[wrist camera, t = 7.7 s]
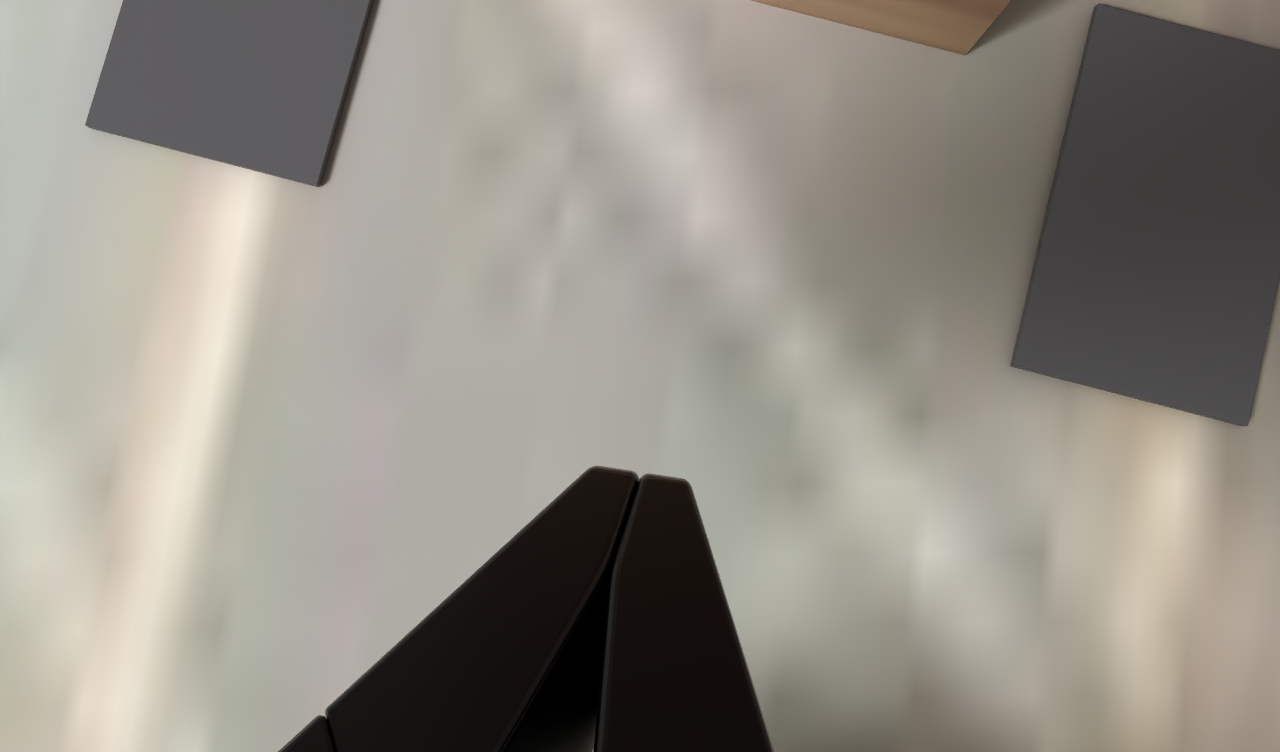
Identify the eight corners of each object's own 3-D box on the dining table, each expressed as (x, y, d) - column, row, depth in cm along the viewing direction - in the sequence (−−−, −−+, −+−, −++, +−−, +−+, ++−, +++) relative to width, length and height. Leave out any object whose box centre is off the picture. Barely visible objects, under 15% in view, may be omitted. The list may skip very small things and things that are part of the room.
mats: (1241, 426, 23) (1247, 425, 23) (90, 127, 23) (85, 125, 23) (1320, 65, 24) (1325, 62, 24) (197, -223, 24) (193, -229, 24)
